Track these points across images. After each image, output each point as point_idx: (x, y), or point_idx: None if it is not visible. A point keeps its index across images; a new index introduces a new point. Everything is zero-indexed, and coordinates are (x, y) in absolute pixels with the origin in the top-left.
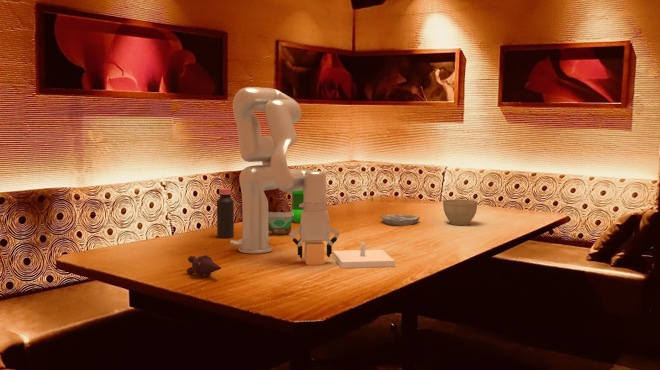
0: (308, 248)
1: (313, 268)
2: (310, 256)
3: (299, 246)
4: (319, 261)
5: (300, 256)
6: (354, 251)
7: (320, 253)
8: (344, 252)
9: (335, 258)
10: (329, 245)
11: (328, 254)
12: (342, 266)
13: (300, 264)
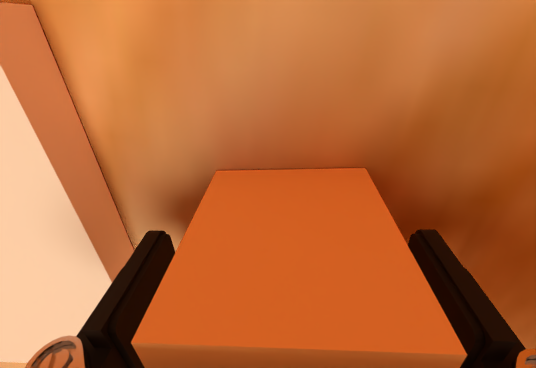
0: (399, 286)
1: (331, 14)
2: (344, 210)
3: (527, 350)
4: (251, 182)
5: (441, 237)
6: (21, 345)
7: (229, 229)
8: (75, 334)
9: None
10: (96, 346)
11: (153, 247)
12: (10, 6)
13: (411, 187)
